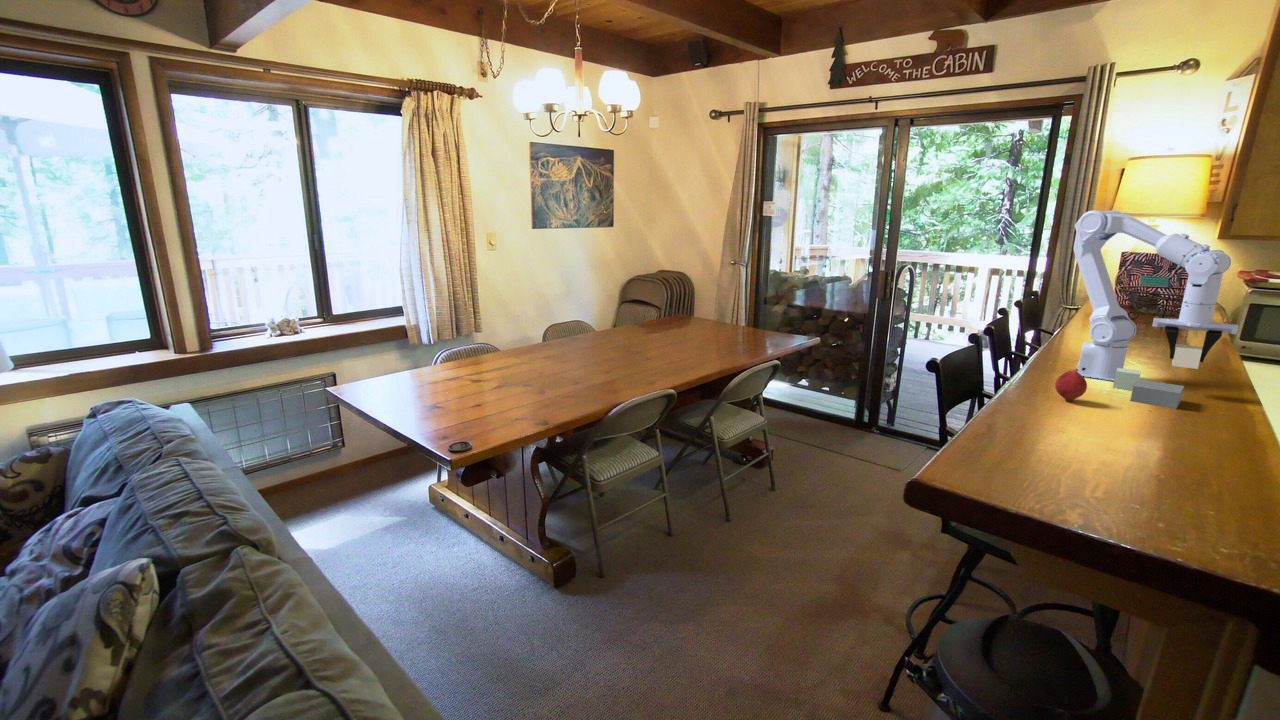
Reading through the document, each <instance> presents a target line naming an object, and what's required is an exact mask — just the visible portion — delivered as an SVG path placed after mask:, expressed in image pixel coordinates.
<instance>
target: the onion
mask: <svg viewBox="0 0 1280 720" xmlns="http://www.w3.org/2000/svg"><path fill="white" fill-rule="evenodd" d="M1054 386H1055V387H1054V388H1055V390H1056V392H1057V393H1058V394H1059V396H1060V397H1062V398H1063V399H1064V400H1065V401H1066V402H1072V401H1073V400H1075V399H1079V398H1080V397H1082V396H1083V395H1084V394H1085V393H1086V391H1087V387H1088V383H1087V381H1086V379H1085V377H1083V376H1082V375H1080V374H1079V373H1078V368H1077V367H1073V368H1072V369H1071V370H1068V371H1066V372H1064V373H1062V374H1061V375H1060V376H1058V378H1057V379H1056V381H1055V385H1054Z"/></svg>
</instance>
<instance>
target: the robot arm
mask: <svg viewBox="0 0 1280 720" xmlns="http://www.w3.org/2000/svg"><path fill="white" fill-rule="evenodd" d="M1074 229H1075V231H1076V233H1075V239H1074V243H1073V253H1074V256H1075V260H1076V262H1077V265H1078V268H1079V271H1080V275H1081V278H1082V280H1083V283H1084V287H1085V290H1086V293H1087V296H1088V300H1089V302H1090V306H1091V308H1092V313H1091V315H1090V316H1089V319H1088V320H1089V325H1090V328H1089V333H1088V334H1089V336H1090V337H1089V338H1090V339H1091V340H1092V342H1091V341H1090V342H1088V341H1084V342H1083V344H1082V347H1081V351H1080V356H1079V361H1078V363H1077V367H1076V368H1077V369H1078V373H1079V374H1080V375H1082V376H1084V378H1090V377H1091V379H1097V378H1098V379H1099V380H1105V381H1112V382H1114V380H1115V375H1116V371H1117V368H1124V366H1125V362H1126V356H1127V352H1128V348H1129V347H1128V346H1129V341H1130V340H1132V339H1133V338H1134V337H1135V336H1136V334H1137V325H1136V324H1135V322H1134V321H1133V320H1131V319H1130V317H1129V315H1128V312H1127V311H1126V310H1125V309H1123V307H1121V306H1120V304H1119V303H1118V299H1117V296H1116V293H1115V290H1114V288H1113V284H1112V282H1111V278H1110V275H1109V272H1108V269H1107V265H1106V263H1105V260H1104V258H1103V254H1102V248H1103V247H1104V246H1105V245H1106V243H1107V242H1108V241H1109V240H1111V239H1112V238H1113V237H1114V236H1115V235H1117V234H1118V233H1119V234H1125V235H1128V236H1130V237H1132V238H1134V239H1137V240H1138V241H1142V242H1143V243H1146V244H1148V245H1150V246H1153V247H1155V251H1156V254H1157V255H1158V256H1160V257H1162V258H1164V259H1165V260H1167V261H1170V262H1172V263H1174V264H1176V265H1178V266H1180V267H1182V268H1185V271H1186V273H1187V275H1188V278H1187V280H1186V285H1185V289H1184V293H1183V299H1182V302H1181V307H1180V311H1179V312H1180V313H1179V316H1178V318H1162V317H1161V318H1159V317H1153V320H1152V321H1153V322H1152V328H1164V333H1165V335H1166V339H1167V342H1168V345H1169V346H1168V347H1169V359H1171V360H1173V358H1174V354H1175V348H1176V344H1177V340H1178V336H1179V333H1180V332H1179V330H1192V331H1200V332H1201V331H1202V332H1205V337H1204V340H1203V345H1202V353H1201V358H1200V362H1199V363H1204V360H1205V358H1206V356H1207V355H1208V354H1209V352H1210V350H1211V348H1212V347H1213V346H1214V345H1215V344H1216V343H1217V342H1218V341H1219V340H1220V339H1221V337H1222V336H1223V333H1224V334H1231V335H1237V334H1238V331H1239V327H1240V326H1239V324H1232V323H1225V322H1224V323H1222V322H1214V321H1213V319H1214V315H1215V310H1216V307H1217V303H1218V298H1219V293H1220V289H1221V285H1222V280H1223V276H1224V273H1226V272H1228V270H1229V269H1230V267H1231V265H1232V259H1231V257H1230V255H1228V254H1227V253H1226V252H1225V251H1224V250H1222V249H1212V250H1210V249H1211V245H1208V244H1200V243H1198V242H1196V241H1194V240H1192V239H1190V235H1188V234H1187V233H1180V234H1179V233H1173V234H1169V235H1168V234H1165V233H1164V232H1162V231H1160V230H1158V229H1156V228H1154V227H1152V226H1151V225H1148V224H1147V223H1145V222H1143V221H1141V220H1139V219H1137V218H1135V217H1133V216H1132V215H1130V214H1127V213H1122V212H1121V211H1119V210H1114V209H1111V210H1089V211H1086V212H1084V213H1083V214H1082V216H1080V218H1078V220H1077V222H1076V223H1075V224H1074Z"/></svg>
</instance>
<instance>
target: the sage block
mask: <svg viewBox="0 0 1280 720" xmlns="http://www.w3.org/2000/svg"><path fill="white" fill-rule="evenodd" d="M1141 372H1142V371H1141V370H1139V369H1138V370H1136V369H1129V368H1124V367H1123V368H1117V371H1116V375H1115V380H1114V381H1113V385H1112V389H1115V388H1117V389H1116V390H1121V389H1122V390H1121V391H1130V392H1132V390H1133V386H1134V385H1135V383H1136V382H1137V381H1138V380H1139V379H1140V377H1141Z"/></svg>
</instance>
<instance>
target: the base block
mask: <svg viewBox="0 0 1280 720" xmlns="http://www.w3.org/2000/svg"><path fill="white" fill-rule="evenodd" d="M1184 389H1185V386H1184V385H1177V384H1172V383H1166V382H1160V381H1159V382H1158V381H1151V380H1147V379H1140V378H1139V380H1138V381H1137V382H1136V383H1135V385H1134V386H1133V390H1132V391H1131V395H1130V399H1129V402H1132V403H1133V402H1134V403H1138V404H1144V405H1149V406H1155V407H1161V408H1166V409H1171V410H1177V409H1178V407H1179V405H1180V403H1181V401H1182V397H1183V393H1184Z"/></svg>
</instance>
